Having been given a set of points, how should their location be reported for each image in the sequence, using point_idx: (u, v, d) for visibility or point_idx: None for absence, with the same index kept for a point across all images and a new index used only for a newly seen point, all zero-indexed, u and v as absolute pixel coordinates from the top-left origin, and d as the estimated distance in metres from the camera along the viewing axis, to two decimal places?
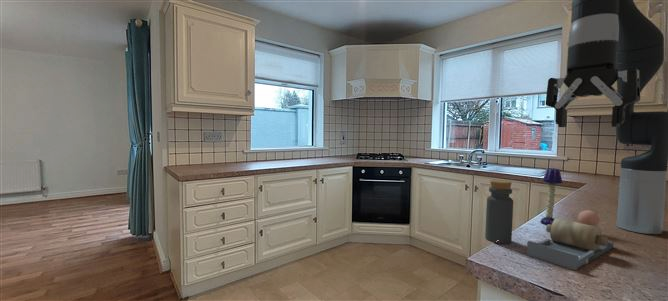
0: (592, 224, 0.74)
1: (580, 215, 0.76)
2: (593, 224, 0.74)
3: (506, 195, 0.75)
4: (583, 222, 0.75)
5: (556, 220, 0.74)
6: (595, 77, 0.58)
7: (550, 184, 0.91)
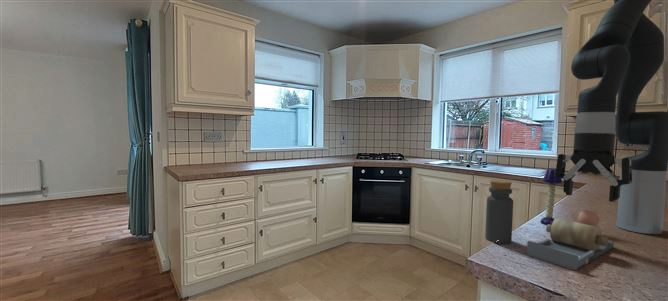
0: (592, 224, 0.74)
1: (580, 215, 0.76)
2: (593, 224, 0.74)
3: (506, 195, 0.75)
4: (583, 222, 0.75)
5: (556, 220, 0.74)
6: (596, 160, 0.73)
7: (550, 184, 0.91)
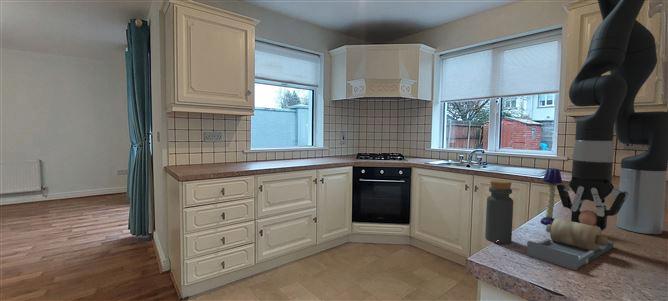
0: (592, 224, 0.74)
1: (580, 215, 0.76)
2: (593, 224, 0.74)
3: (506, 195, 0.75)
4: (583, 222, 0.75)
5: (556, 220, 0.74)
6: (595, 189, 0.73)
7: (550, 184, 0.91)
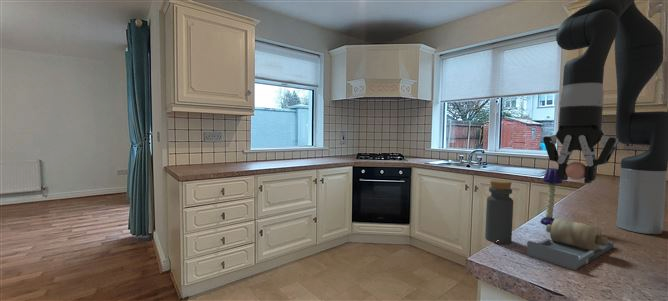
0: (580, 175, 0.68)
1: (567, 167, 0.70)
2: (581, 175, 0.68)
3: (506, 195, 0.75)
4: (570, 174, 0.69)
5: (556, 220, 0.74)
6: (583, 136, 0.67)
7: (550, 184, 0.91)
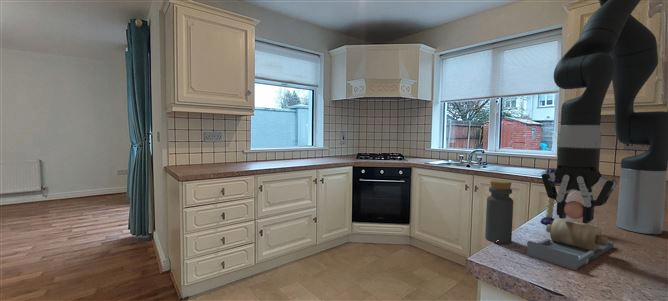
0: (578, 216, 0.69)
1: (565, 206, 0.71)
2: (579, 216, 0.69)
3: (506, 195, 0.75)
4: (569, 213, 0.70)
5: (556, 220, 0.74)
6: (581, 177, 0.68)
7: None
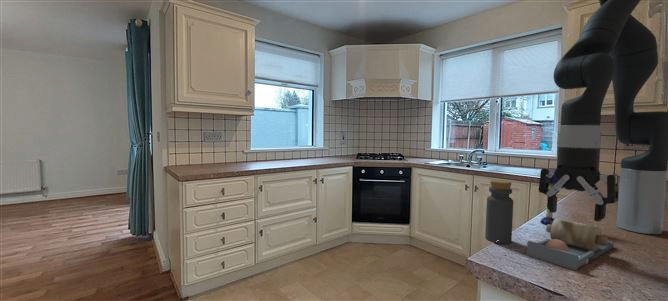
0: (560, 249, 0.64)
1: (550, 240, 0.67)
2: None
3: (506, 195, 0.75)
4: (551, 245, 0.65)
5: (556, 220, 0.74)
6: (580, 177, 0.68)
7: (550, 184, 0.91)
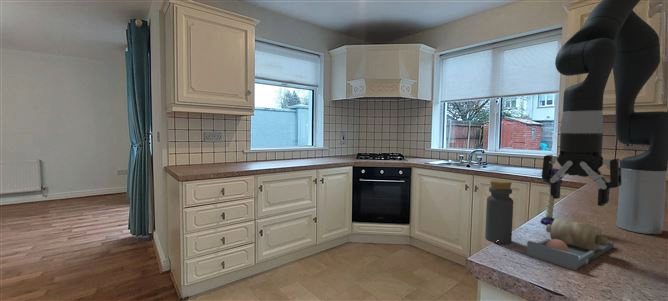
0: (560, 249, 0.64)
1: (550, 240, 0.67)
2: None
3: (506, 195, 0.75)
4: (551, 245, 0.65)
5: (556, 220, 0.74)
6: (583, 162, 0.68)
7: (550, 184, 0.91)
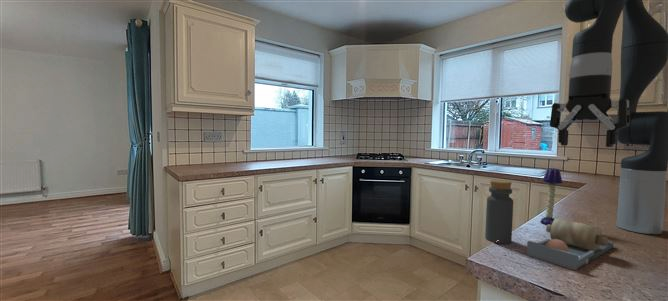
0: (560, 249, 0.64)
1: (550, 240, 0.67)
2: None
3: (506, 195, 0.75)
4: (551, 244, 0.65)
5: (556, 220, 0.74)
6: (592, 105, 0.69)
7: (550, 184, 0.91)
